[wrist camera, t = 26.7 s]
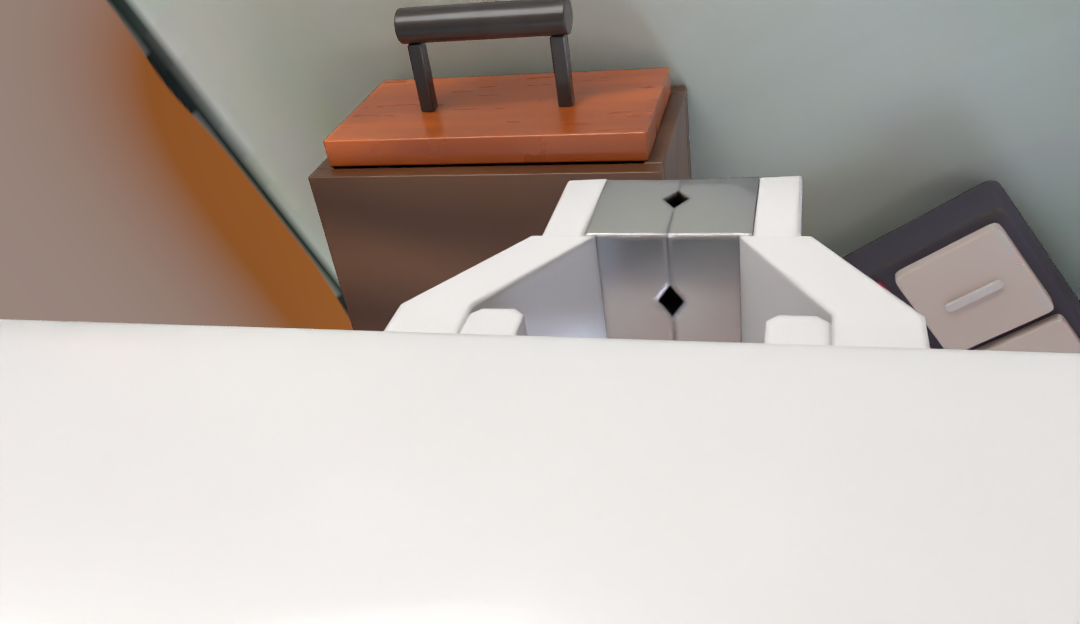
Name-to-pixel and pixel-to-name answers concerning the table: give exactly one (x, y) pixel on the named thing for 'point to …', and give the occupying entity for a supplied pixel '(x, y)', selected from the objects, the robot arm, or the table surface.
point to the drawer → (501, 101)
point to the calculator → (977, 277)
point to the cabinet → (455, 215)
